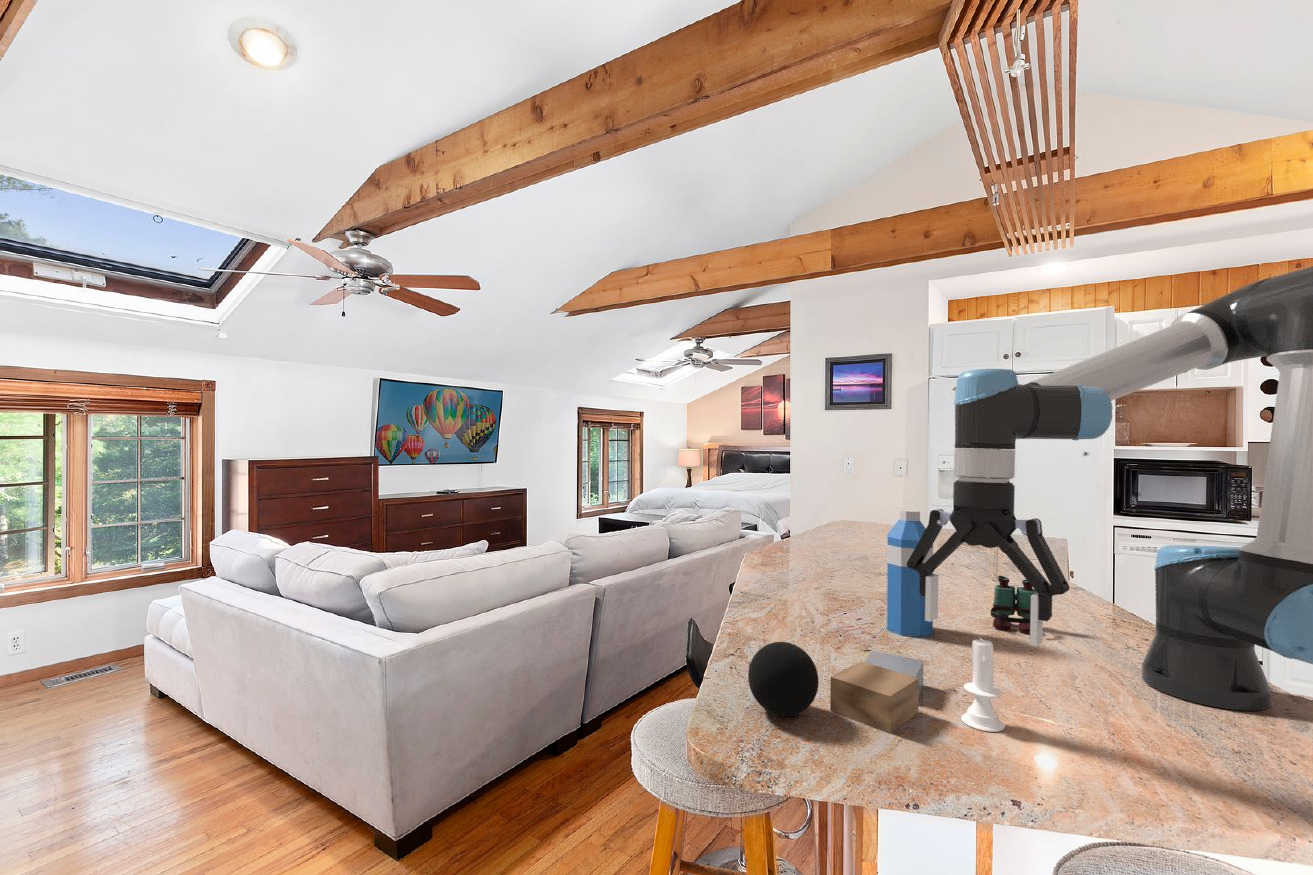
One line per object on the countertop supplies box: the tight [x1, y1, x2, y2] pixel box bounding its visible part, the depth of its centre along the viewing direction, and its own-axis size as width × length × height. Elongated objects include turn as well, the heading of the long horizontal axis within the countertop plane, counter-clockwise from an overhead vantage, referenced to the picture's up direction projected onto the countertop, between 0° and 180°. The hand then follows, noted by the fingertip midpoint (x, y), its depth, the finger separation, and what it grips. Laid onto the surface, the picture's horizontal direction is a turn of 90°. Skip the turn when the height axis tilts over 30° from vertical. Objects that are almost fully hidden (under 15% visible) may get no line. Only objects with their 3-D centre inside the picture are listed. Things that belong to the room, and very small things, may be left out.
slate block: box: [863, 650, 924, 695], centre depth 95 cm, size 8×8×4 cm
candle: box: [961, 637, 1006, 733], centre depth 84 cm, size 5×5×12 cm
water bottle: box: [886, 508, 934, 638], centre depth 124 cm, size 9×9×25 cm
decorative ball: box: [747, 641, 819, 717], centre depth 87 cm, size 10×10×10 cm
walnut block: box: [829, 661, 920, 734], centre depth 87 cm, size 9×9×5 cm
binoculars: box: [990, 575, 1036, 635], centre depth 125 cm, size 9×11×10 cm
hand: (980, 631), depth 84 cm, fingers open, 13 cm apart
